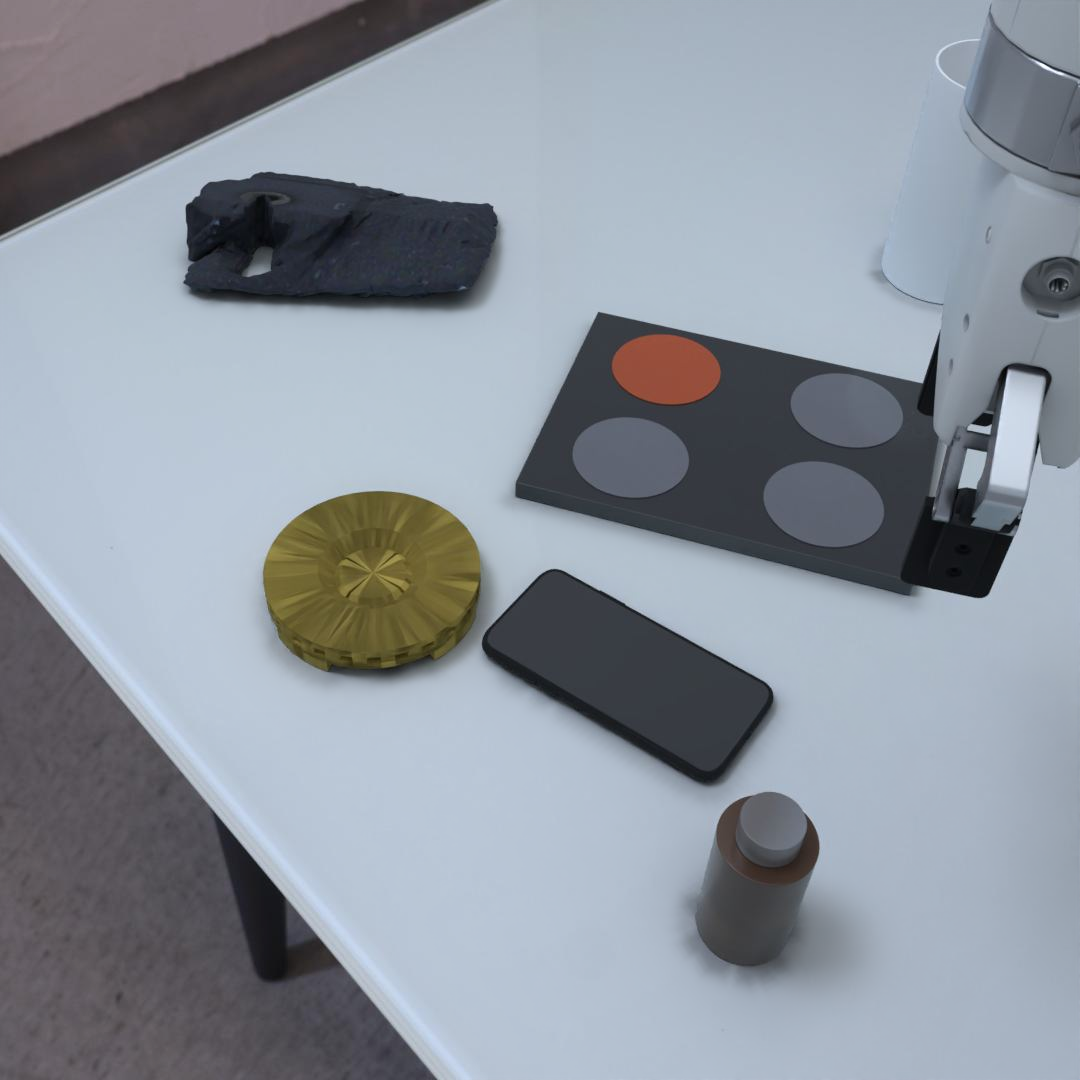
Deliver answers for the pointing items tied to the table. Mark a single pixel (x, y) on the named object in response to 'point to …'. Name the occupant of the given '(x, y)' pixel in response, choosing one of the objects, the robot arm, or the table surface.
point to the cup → (934, 183)
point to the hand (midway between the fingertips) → (948, 495)
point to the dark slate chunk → (333, 238)
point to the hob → (738, 450)
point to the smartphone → (630, 673)
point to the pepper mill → (756, 878)
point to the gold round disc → (372, 581)
